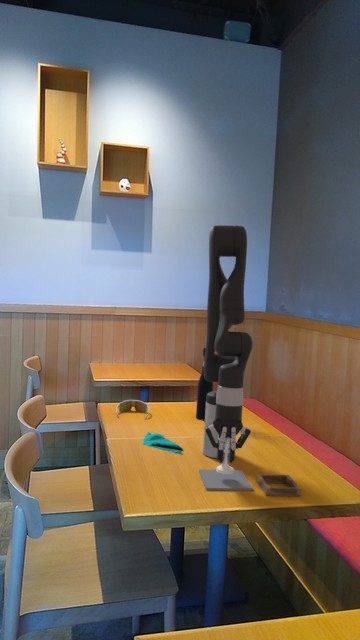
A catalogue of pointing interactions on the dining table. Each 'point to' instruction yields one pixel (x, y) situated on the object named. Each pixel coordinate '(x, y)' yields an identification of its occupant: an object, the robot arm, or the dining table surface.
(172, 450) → the cloth
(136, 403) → the sunglasses
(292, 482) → the square frame
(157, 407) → the dining table surface
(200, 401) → the wine bottle
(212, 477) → the mat
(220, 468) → the chess piece
